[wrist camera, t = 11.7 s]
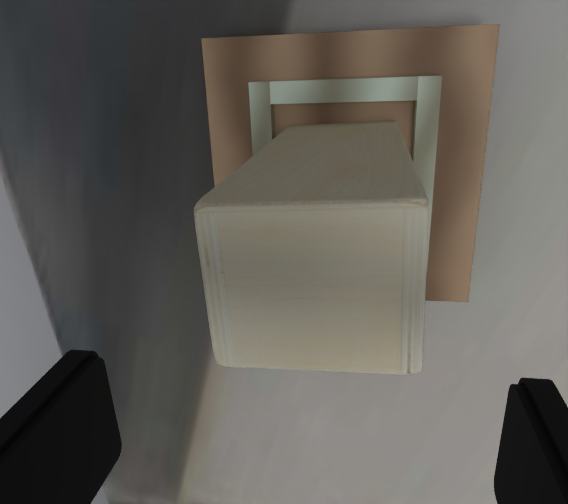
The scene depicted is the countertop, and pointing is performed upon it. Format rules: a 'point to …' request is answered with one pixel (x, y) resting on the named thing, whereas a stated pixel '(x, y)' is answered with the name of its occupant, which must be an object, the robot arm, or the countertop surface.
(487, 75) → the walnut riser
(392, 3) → the countertop surface
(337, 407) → the countertop surface
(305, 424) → the countertop surface
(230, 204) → the toy refrigerator
